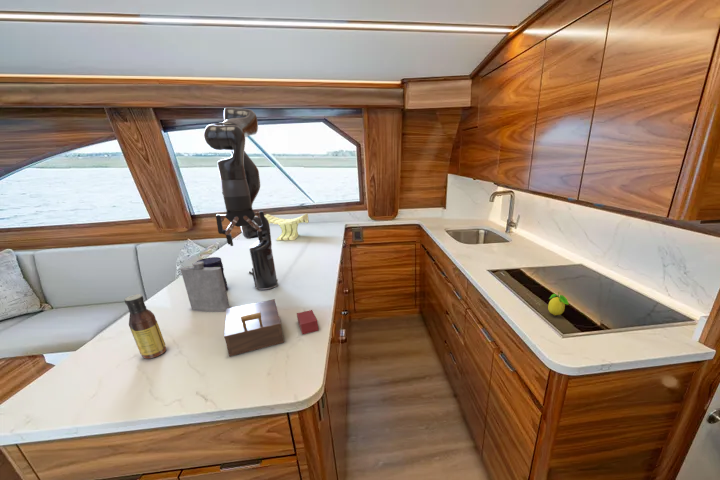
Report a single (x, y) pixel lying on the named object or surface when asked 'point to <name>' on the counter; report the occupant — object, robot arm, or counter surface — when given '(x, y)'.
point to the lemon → (557, 304)
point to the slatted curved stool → (288, 226)
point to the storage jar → (214, 265)
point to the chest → (254, 340)
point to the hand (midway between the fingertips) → (246, 243)
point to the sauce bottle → (144, 328)
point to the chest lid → (251, 318)
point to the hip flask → (205, 287)
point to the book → (307, 322)
